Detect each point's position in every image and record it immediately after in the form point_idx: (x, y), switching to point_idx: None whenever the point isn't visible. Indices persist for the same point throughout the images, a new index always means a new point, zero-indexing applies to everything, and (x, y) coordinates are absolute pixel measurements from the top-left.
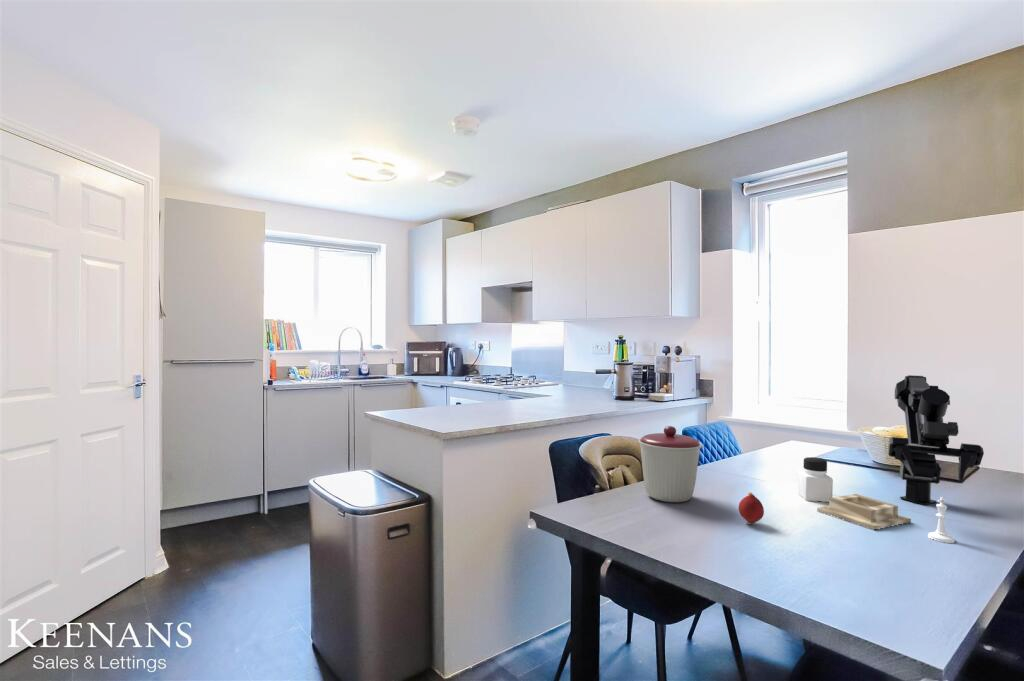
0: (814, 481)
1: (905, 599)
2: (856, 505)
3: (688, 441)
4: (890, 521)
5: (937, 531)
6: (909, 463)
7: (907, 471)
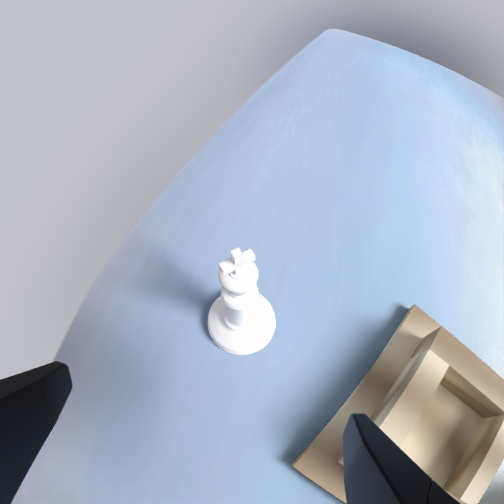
0: None
1: (348, 69)
2: (476, 366)
3: None
4: (369, 388)
5: (252, 308)
6: (416, 472)
7: None
